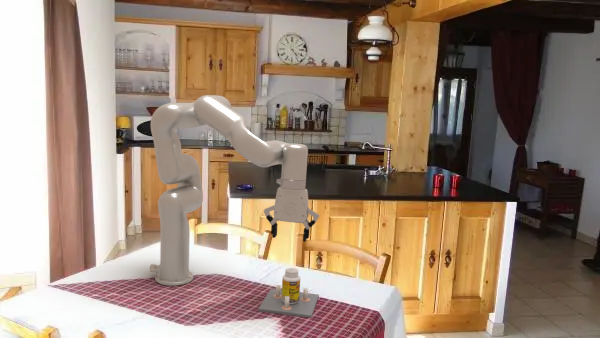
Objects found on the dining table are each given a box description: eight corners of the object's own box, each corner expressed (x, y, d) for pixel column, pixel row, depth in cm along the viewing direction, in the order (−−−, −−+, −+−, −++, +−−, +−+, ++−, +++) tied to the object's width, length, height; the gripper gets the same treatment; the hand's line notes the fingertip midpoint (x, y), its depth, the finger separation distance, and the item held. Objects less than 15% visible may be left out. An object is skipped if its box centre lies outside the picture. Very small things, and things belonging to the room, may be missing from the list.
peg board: (258, 311, 149) (259, 297, 149) (270, 291, 165) (271, 278, 164) (311, 317, 146) (311, 304, 146) (318, 296, 162) (319, 284, 161)
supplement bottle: (287, 306, 152) (289, 274, 150) (278, 299, 156) (279, 268, 155) (302, 302, 155) (304, 271, 153) (292, 296, 159) (294, 265, 158)
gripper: (262, 183, 149) (259, 238, 152) (319, 189, 146) (315, 245, 149) (268, 179, 156) (265, 232, 159) (323, 185, 153) (319, 238, 156)
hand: (289, 238), depth 154 cm, fingers open, 9 cm apart
